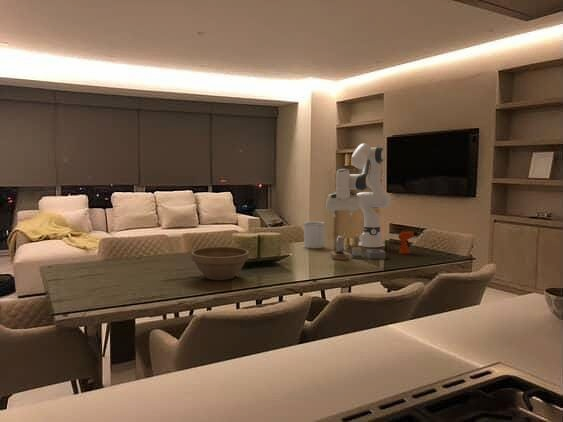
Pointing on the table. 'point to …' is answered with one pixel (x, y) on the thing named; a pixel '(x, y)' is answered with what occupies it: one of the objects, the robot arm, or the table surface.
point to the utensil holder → (314, 234)
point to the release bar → (356, 252)
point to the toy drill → (406, 241)
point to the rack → (339, 255)
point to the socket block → (376, 254)
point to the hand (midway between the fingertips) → (342, 217)
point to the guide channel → (356, 257)
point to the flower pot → (219, 261)
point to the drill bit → (339, 245)
